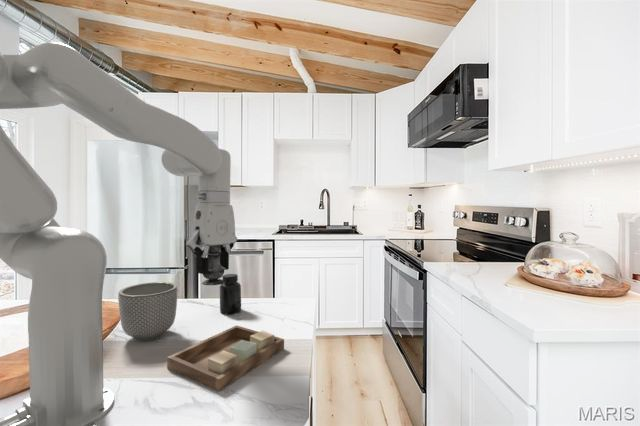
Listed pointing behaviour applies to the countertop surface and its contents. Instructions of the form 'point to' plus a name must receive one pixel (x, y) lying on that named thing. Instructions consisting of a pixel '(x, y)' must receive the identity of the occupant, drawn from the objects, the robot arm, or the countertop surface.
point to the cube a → (222, 362)
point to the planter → (147, 309)
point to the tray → (196, 356)
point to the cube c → (262, 339)
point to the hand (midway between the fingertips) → (213, 270)
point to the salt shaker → (214, 267)
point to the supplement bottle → (230, 294)
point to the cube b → (244, 350)
